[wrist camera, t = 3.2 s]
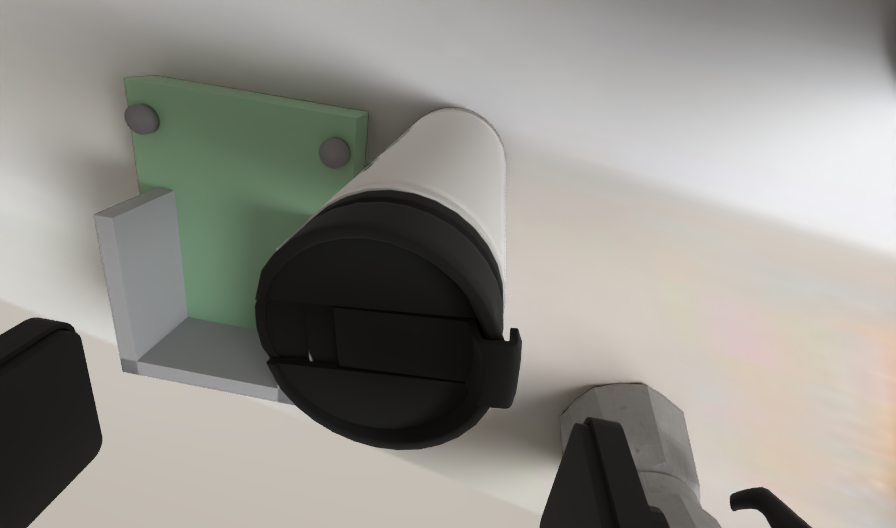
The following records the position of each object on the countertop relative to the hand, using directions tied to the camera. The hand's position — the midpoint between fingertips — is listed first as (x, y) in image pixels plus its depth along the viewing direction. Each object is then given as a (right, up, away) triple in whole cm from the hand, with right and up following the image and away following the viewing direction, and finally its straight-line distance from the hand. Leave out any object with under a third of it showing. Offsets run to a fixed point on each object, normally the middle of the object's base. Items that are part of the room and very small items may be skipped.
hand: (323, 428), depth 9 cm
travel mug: (+3, +9, +20) cm, 22 cm away
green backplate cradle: (-10, +6, +22) cm, 25 cm away
